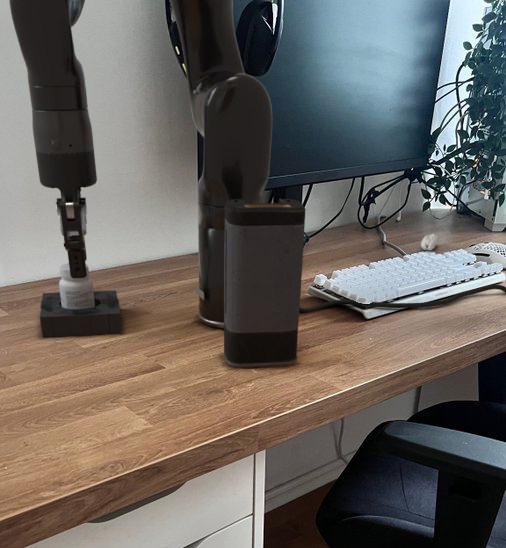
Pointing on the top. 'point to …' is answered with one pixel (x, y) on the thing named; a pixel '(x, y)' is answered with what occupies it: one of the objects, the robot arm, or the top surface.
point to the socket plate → (80, 316)
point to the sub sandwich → (429, 242)
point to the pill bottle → (75, 290)
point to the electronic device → (262, 282)
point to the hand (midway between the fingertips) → (79, 269)
